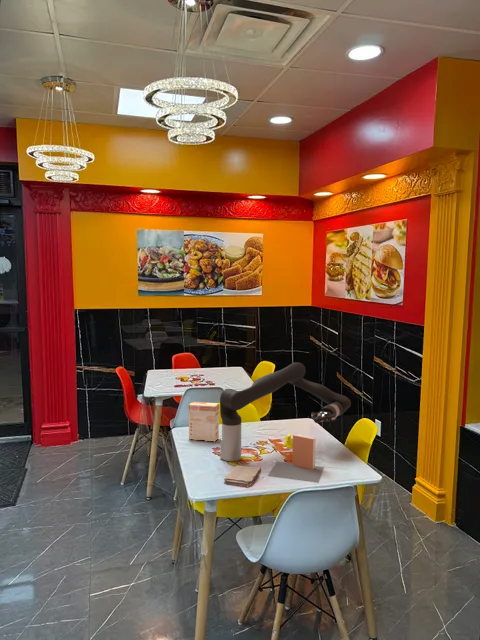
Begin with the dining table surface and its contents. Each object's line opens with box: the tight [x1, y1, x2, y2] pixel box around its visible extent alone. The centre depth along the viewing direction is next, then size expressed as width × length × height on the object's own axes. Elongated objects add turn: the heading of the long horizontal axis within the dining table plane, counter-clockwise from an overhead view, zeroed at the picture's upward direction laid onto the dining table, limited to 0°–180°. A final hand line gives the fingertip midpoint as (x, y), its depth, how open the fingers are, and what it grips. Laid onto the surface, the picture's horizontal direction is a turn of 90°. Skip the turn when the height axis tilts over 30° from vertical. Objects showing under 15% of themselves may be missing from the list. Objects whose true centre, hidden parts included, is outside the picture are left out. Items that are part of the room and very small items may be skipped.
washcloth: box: [223, 465, 262, 487], centre depth 205 cm, size 12×18×3 cm, turn 163°
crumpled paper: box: [282, 433, 293, 449], centre depth 243 cm, size 6×8×8 cm
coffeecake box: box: [188, 401, 220, 443], centre depth 255 cm, size 15×7×20 cm, turn 76°
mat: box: [267, 461, 325, 484], centre depth 210 cm, size 22×18×1 cm
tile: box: [291, 433, 316, 470], centre depth 215 cm, size 10×2×14 cm, turn 58°
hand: (316, 420), depth 225 cm, fingers closed
